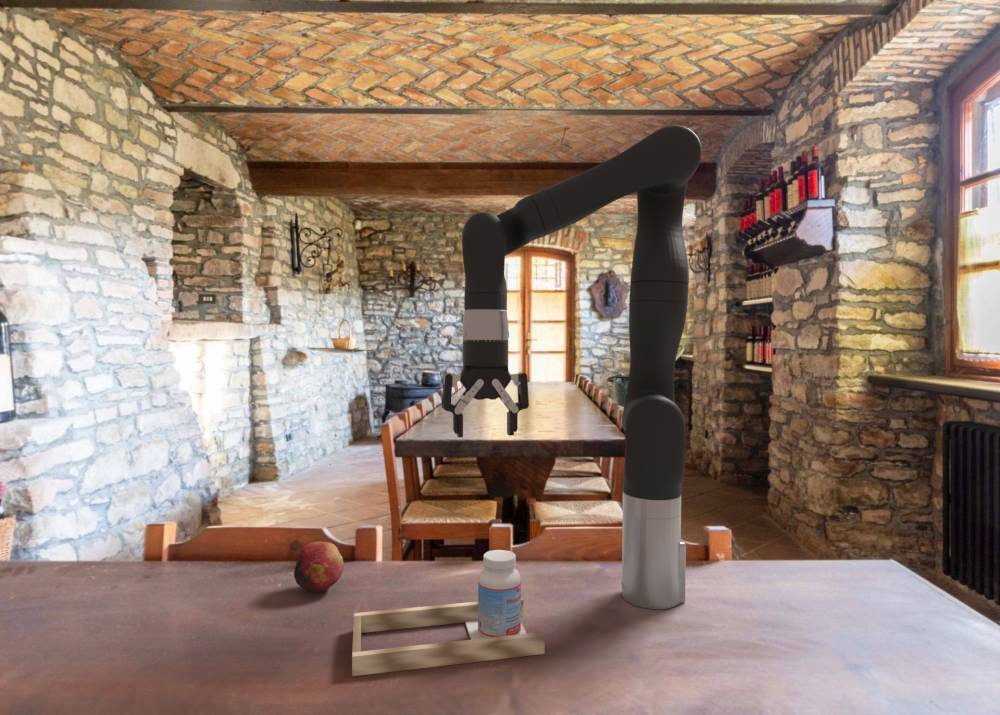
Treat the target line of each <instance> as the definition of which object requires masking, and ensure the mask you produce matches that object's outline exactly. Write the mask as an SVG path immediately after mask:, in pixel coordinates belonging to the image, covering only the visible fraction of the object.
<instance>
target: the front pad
mask: <svg viewBox="0 0 1000 715" xmlns="http://www.w3.org/2000/svg"><path fill="white" fill-rule="evenodd" d="M464 624H465V627H466V630H467V633H468V636H469V638H470V639H469V640H472V639H481V638H482V637H481V636H480V635H479V633H478V621H469V622H464ZM520 634H527V631H526V628H525V627H524V625H523V623H522V622H521V632H520Z"/></svg>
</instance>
